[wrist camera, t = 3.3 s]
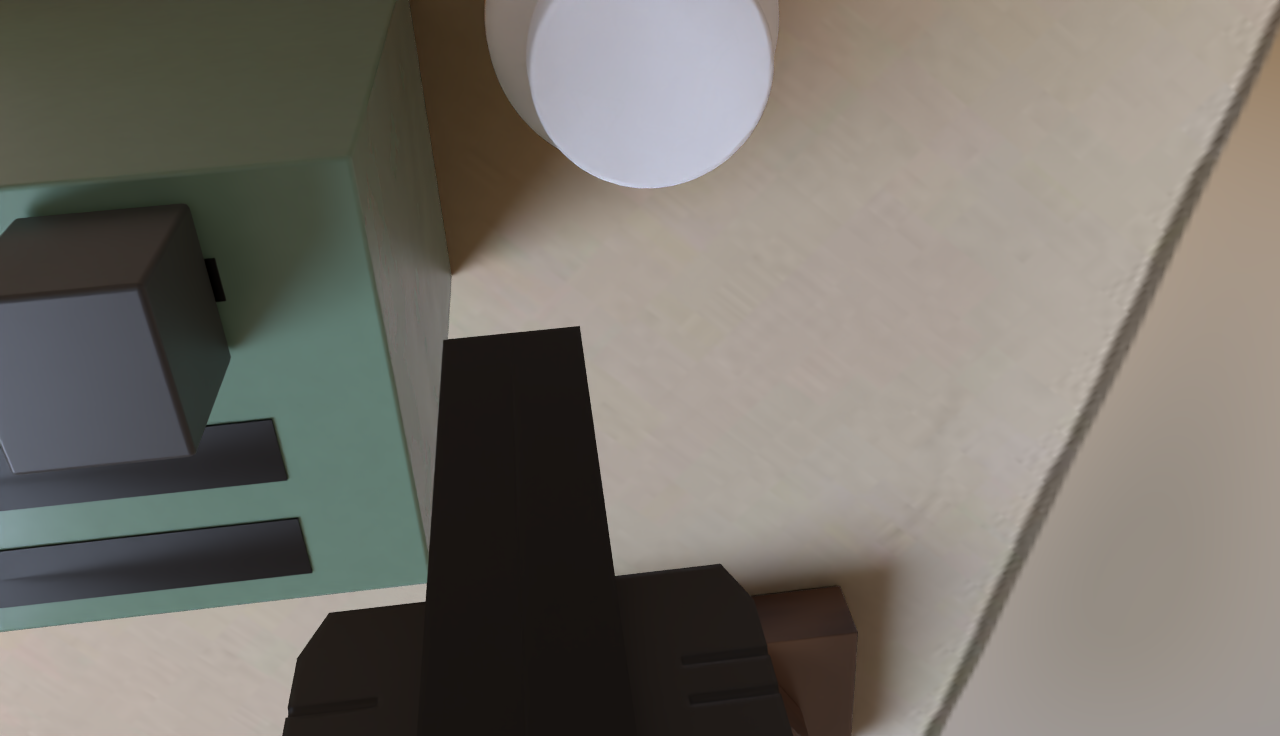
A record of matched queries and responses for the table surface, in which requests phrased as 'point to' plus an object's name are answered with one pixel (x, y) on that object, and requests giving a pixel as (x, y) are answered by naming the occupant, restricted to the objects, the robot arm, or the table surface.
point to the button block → (812, 657)
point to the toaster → (241, 296)
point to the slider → (106, 339)
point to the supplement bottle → (637, 80)
